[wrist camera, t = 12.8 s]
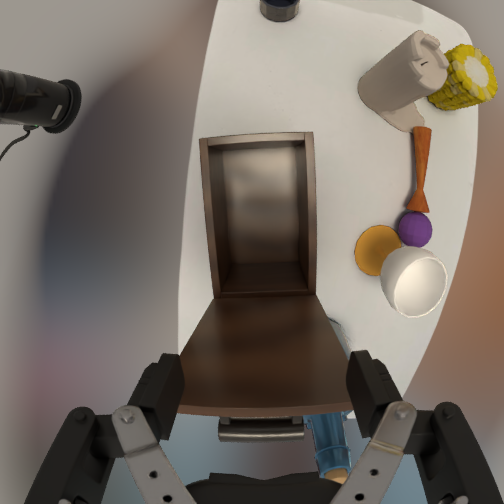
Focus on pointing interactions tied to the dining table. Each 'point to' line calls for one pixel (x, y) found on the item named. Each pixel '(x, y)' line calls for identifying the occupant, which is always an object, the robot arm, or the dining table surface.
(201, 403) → the lid
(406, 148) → the dining table surface
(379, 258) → the cup
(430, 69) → the candle
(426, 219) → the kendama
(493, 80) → the food
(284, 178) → the chest
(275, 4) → the bowl
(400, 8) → the dining table surface
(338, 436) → the wine bottle
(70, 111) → the robot arm
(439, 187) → the dining table surface
